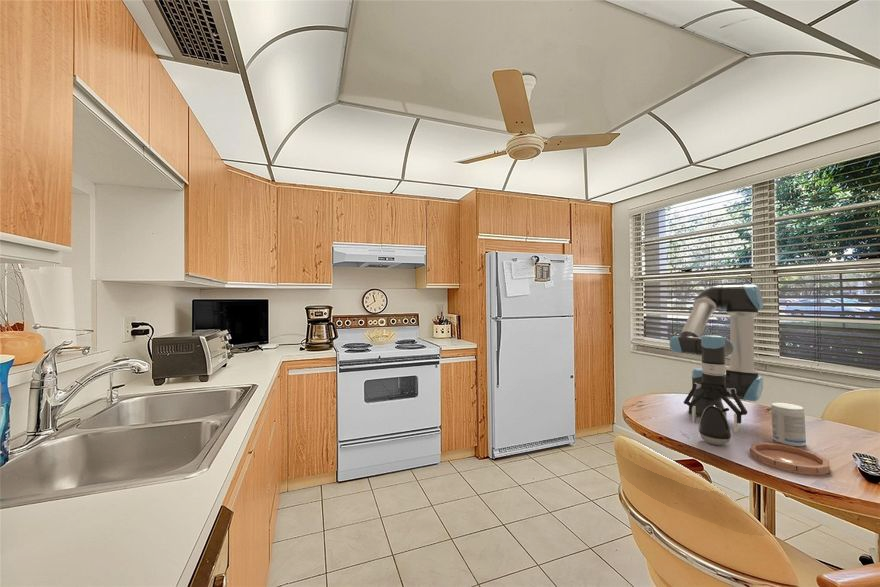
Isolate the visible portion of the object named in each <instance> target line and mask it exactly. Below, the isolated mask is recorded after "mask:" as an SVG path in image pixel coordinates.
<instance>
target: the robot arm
mask: <svg viewBox="0 0 880 587" xmlns="http://www.w3.org/2000/svg"><path fill="white" fill-rule="evenodd" d="M692 306H693V308H692V310H691V311H690V314H689V316H688V318H687V319H686V322H685V323H684V326H683V328H682V331H681V332H680V334H679V335H672V336H671V337H670V339H669V348H670V351H671V352H673V353H677V354H678V353H680V354H687V355H699V356H701V367H696V368H693V370H692V372H691V382H692V383H691V386H692V387H691V388H692V389H691V390H690V391H689V393H688V395H687V396H686V397H685V399H684V401H683V404H684V405H687V406H688V414H689V415H691V423H692V424H695V423H697V417H699V416H700V417H699V418H701V416H702V414H703V412H704V410H705V409H706V407H708V406H710V405H715V406H718V407H719V408H720V409H725V408H726V407H725V406H724V403H723V401H724V402H725V404H727V406H728V408H729V409H731V410H732V411H733V412H734V414H733V425H734V426H733V428H734V430H733V431H734V433H738V431H739V424H741V423H742V416H743V415H744V416H745V415H747V414H748V410H747V409H746V407H745V405H744V403H743V402H742V401H749V402H756V401H759V399H760V398H761V396H762V393H763V389H764V378H763V377H762V376H761V375H760V376H759V371H758V370H757V369H755V320H754V319H755V316H757V315H758V314H759V311H760V310H763V308H764V300H763V295H762V292H761V289H760V288H759V286H757V285H755V284H730V285H728V284H727V285H715V286H714V285H713V286H712V287H709V288H707V289H705V290H703V291H702V292H701V293H699V294H698V295H697V296H696V297H695V299H694V300H693V303H692ZM720 309H722V310H725V311H726V312H725V313H726V314H727V315H728V316H730V320H729V333H730V335H729V339H727V338H725V337H724V336H722V335H715V334H714V335H712V334H707V335H705V334H704V335H703V332H704V330H705V328H706V326H707V324H708V321H709V319H710V317H711V315H712V314H713V313H714V312H715V311H716V310H720ZM726 357H729V366H728V367H726ZM730 398H731V399H733V400H734V401H735V403H736V405H735V404H734V403H733V401H732V400H731V399H730ZM690 400H691V401H690ZM737 406H738V407H737ZM724 414H725V416H726V418H727V411H726V412H724ZM696 415H697V416H696Z"/></svg>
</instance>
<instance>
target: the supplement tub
mask: <svg viewBox="0 0 880 587" xmlns="http://www.w3.org/2000/svg"><path fill="white" fill-rule="evenodd" d="M770 408H771V410H770V411H771V426H772V428H771V429H772V439H773V440H774V441H775V442H777V443H778V444H782V445H787V446H791V447H803V446H806V444H807V438H806V437H807V436H806V419H805V418H806V417H805V416H806V415H805V411H804V407H803V406H801V405H798V404H791V403H787V402H785V403H784V402H772V403H771V407H770Z"/></svg>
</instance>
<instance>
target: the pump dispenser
mask: <svg viewBox="0 0 880 587" xmlns="http://www.w3.org/2000/svg"><path fill="white" fill-rule="evenodd" d="M724 408H725V409H720V408H719V407H718V406H715V405H710V406H708V407H706V409H705V410H704V412H703V414H702V416H701V417H700V420H699V426H698V433H699V434H700V437H701V439H702V440H703V441H704V442H706V443H708V444H709V445H713V446H718V447H720V446H725V445H727V444H728V443H729V442H730V439H731V437H732V432H731V428H730V423H729V421H728V419H727V418H726V416H725V414H724V412H726V413H727V412H729V411H730V407H724Z"/></svg>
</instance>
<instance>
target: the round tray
mask: <svg viewBox="0 0 880 587" xmlns="http://www.w3.org/2000/svg"><path fill="white" fill-rule="evenodd" d="M749 453H750V456H751V457H752V458H754V459H755V460H756V461H758V462H760V463H762V464H764V465H766V464H767V465H766V466H770V467H772V468H774V469H779V470H781V471H785V472H790V473H794V474H799V475H800V474H801V475H806V474H807V476H824V474H825V475H828V474H830V472H831V471H830V468H831V467H830V464H831V463H830V460H828V459H826V458H824V457H823V456H822V455H820V454H817V453H815V452H812V451H809V450H806V449H803V448H800V447H797V446H791V445H786V444H782V443H771V442H755V443H754V442H753V443H751V444H750V446H749ZM829 471H830V472H829ZM827 473H828V474H827Z"/></svg>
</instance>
